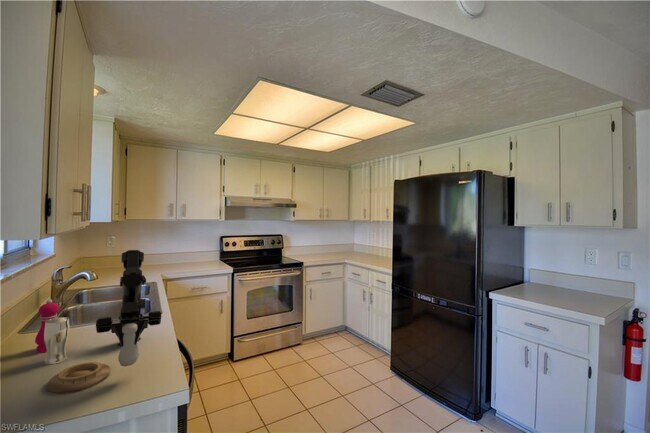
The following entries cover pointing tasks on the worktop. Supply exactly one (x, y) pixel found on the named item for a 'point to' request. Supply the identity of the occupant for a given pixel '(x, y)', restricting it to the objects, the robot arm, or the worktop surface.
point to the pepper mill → (46, 313)
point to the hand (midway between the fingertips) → (128, 345)
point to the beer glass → (56, 339)
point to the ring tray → (77, 386)
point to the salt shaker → (128, 346)
